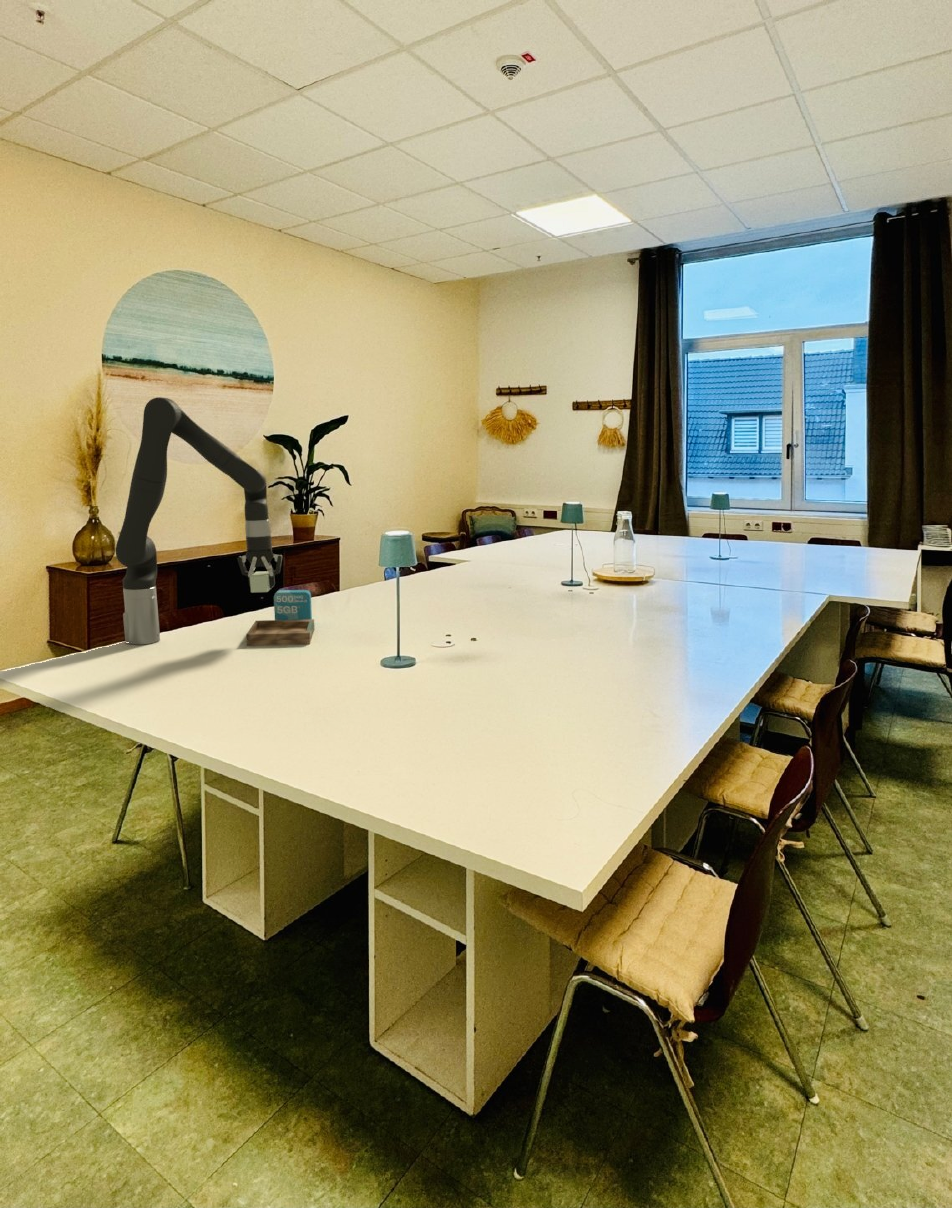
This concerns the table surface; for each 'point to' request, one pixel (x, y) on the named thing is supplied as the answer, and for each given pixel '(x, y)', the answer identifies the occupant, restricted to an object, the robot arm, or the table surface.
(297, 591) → the data package
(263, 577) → the panel block
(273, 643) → the shallow wooden tray
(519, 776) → the table surface
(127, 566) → the robot arm
